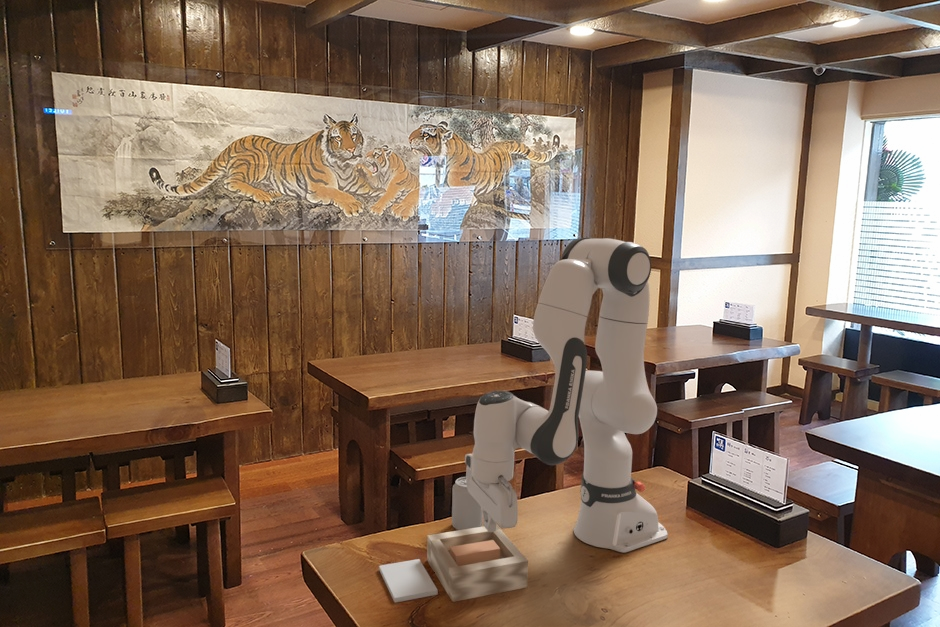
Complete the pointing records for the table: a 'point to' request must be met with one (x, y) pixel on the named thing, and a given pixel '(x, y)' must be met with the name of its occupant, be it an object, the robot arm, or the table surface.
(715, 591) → the table surface
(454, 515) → the can
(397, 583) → the mat
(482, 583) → the pocket block
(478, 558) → the bar
